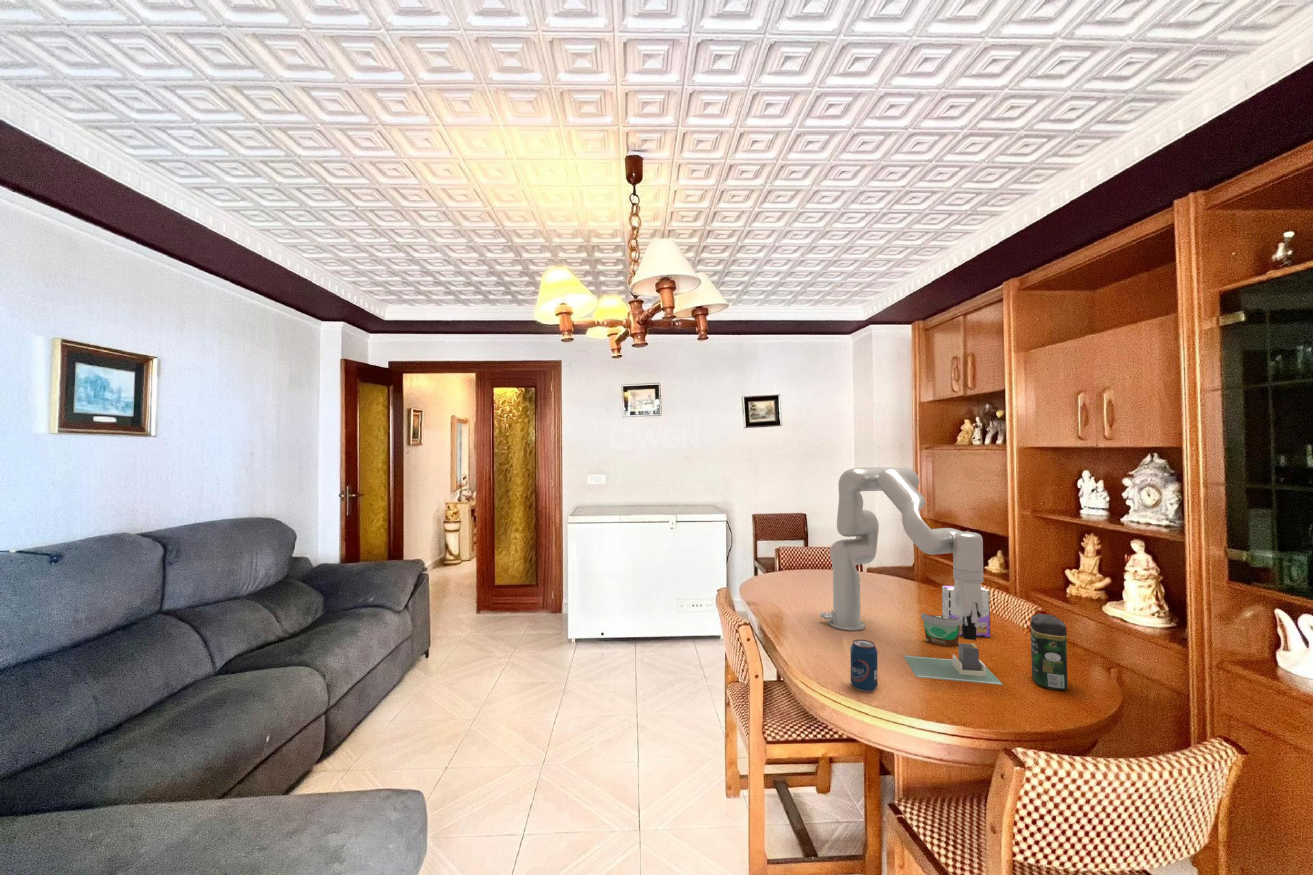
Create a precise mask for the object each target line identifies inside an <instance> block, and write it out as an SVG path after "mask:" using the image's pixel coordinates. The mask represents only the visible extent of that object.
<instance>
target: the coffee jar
mask: <svg viewBox="0 0 1313 875" xmlns="http://www.w3.org/2000/svg"><path fill="white" fill-rule="evenodd" d="M1030 618H1031V619H1030V652H1031V655H1030V656H1031V657H1030V658H1031V677H1032V679H1033V681H1034V682H1035V684H1037V685H1038V686H1041V687H1044V688H1046V689H1049V690H1054V691H1055V690H1056V691H1057V690H1067V689H1068V685H1069V684H1068V679H1069V678H1068V652H1067V651H1068V650H1067V645H1068V644H1067V643H1068V642H1067V641H1068V640H1067V638H1068V635H1067V634H1068V633H1067V625H1066V624H1065V623H1064V622H1063V621H1062V620H1061V619H1059V618H1058V617H1056V616H1055V615H1052V614H1046V613H1037V614H1035V615H1033V616H1031V617H1030Z"/></svg>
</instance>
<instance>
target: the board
mask: <svg viewBox="0 0 1313 875" xmlns="http://www.w3.org/2000/svg"><path fill="white" fill-rule="evenodd" d="M902 656H903V658H904V660H905V661H906V663H907V664H908V666H909V668H910V669H911V671H912V673H913V674H914V676H915V677H916V678H921V679H923V678H924V679H934V680H943V681H956V682H967V683H974V684H975V683H977V684H987V685H999V686H1004V684H1003V682H1001V681H1000V679H999V678H997V677H996V676H995V674H994V673H993V672H992V671H991V670H990V669H989V668H988V667H987V666H986V677H984V676H973V675H961V674H959V672H958V671H957V670H956V669H955V667H954V666H953V658H942V657H941V658H939V657H928V656H917V655H916V656H915V655H906V654H905V655H904V654H903V655H902Z"/></svg>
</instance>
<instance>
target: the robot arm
mask: <svg viewBox="0 0 1313 875" xmlns="http://www.w3.org/2000/svg"><path fill="white" fill-rule="evenodd" d="M919 485H920V478H919V476H918V474H917V472H916V471H914V470H913V469H911V468H909V467H880V466H879V467H854V468H849V469H847V470H845V471H844V472H843V473H842V474H841V475H840V477H839V480H838V504H837V505H838V506H837V507H838V508H837V515H836V516H837V518H836V530H837V532H838V534H839V535H841V536H842V537H846V539H839V540H837V541H835V542H834V543H832V545H831V546H830V550H829V554H830V556H829V557H830V560H831V565H832V592H833V593H832V594H833V595H832V601H833V602H832V608H833V609H831V611H829V612H826V611H820V612H819V613H820V618H824V620H828V625H830V627H833V628H834V629H835V628H836V629H838V630H843V631H848V632H849V631H851V632H852V631H853V632H854V631H855V632H856V631H862V630H864V629H866V624H865V622H863V621H862V619H861V577H860V576H861V575H860V573H859V571H858V570H857V567H856V566H858V565H865V564H870V563H871V562H873V561H874V559H875V558H876V555H877V550H878V542H879V541H878V538H879V529H880V528H879V527H880V526H879V521H878V517H877V516H876V514H874V512H872V511H870V510H867V509H864V499H863V496H862V493H861V492H883V493H884V495H886V498H888V500H890V502H892V504H893V505H894V506H895V507H896V509H897V510H898V511H899V512H900V513H901V521H902V525H903V529H904V532H905V533H906V534H905V535H907V537H908V538H909V539H910V540H911V542H913V543H914V545H915V546H916V547H917V548H918V550H920V551H921V552H923V553H924V554H927V555H930V556H931V555H932V556H934V555H943V554H952V557H953V558H952V560H953V561H952V565H953V567H952V568H953V571H952V574H953V580H954V583H953V584H954V585H953V586H954V604H953V605H954V609H955V610H956V611H957V612H959V613H960V614H961V618H962V623H964V624H962V636H961V637H962V638H963V640H972V641H976V640H977V637H976V623H978V618H981V617H982V592H981V587H982V583H984V548H983V547H984V543H983V542H984V541H983V540H984V539H983V537H982V535H981V534H980V533H978V532H971V531H962V530H960V529H956V528H952V527H944V528H943V527H941V528H931V527H929V525H928V524H927V523H926V522H925V521H924V520H923V519H922V517H921V515H920V511H921V510H922V509H923V508H924V506H925V504H926V499H925V497H924V496H923V495H922V494H921V493H920V492H919V490H917V489H918V487H919ZM850 537H851V538H850ZM853 537H855V538H853Z"/></svg>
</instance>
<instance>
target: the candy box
mask: <svg viewBox="0 0 1313 875" xmlns="http://www.w3.org/2000/svg"><path fill="white" fill-rule="evenodd" d="M981 592H982V617H981V618H978V623H976V638H977V637H978V638H990V637H991V609H990V608H991V607H990V606H991V604H990V590H989V589H987V588H984V587H983V586H981ZM941 602H942V604H941V605H942V606H941V609H942V610H941V611H942V612H941V613H942V615H941V616H945V617H949V618H955V619H958V618H960V617H961V614H960V613H959V612H957V611H956V610H955V609H954V605H953V604H954V585H942V586H941ZM961 619H962V618H961ZM963 624H964V623H963ZM959 637H962V625H960V630H959Z"/></svg>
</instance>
